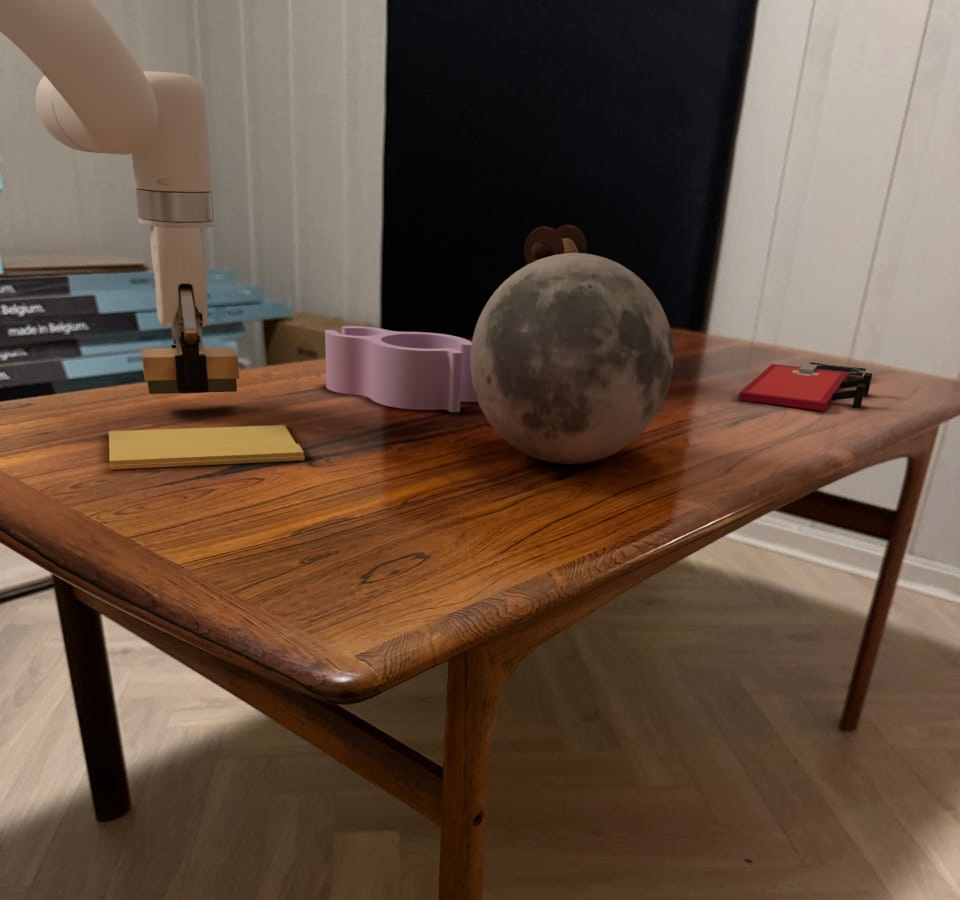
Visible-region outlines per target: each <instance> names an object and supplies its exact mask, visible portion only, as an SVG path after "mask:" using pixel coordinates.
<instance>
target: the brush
mask: <svg viewBox="0 0 960 900" xmlns="http://www.w3.org/2000/svg"><path fill="white" fill-rule="evenodd" d="M203 349H204V355H206V365H207V377H208V392H207V393H233V392H235V393H236V392H238V386H237V380H238V379H240V369H239V367H240V366H239V356H238V354H237V353H236V351H235V349H234V348H233V347H232V346H224V347H223V346H222V347H220V346H219V347H218V346H217V347H215V346H214V347H213V346H211V347H203ZM140 353H141V354H140V355H141V364H142V365H141V366H142V372H143V377H144V378H143V379H144V381H145V382H147V390H148V394H149V395H167V394H181V393H180V392H179V391H178V384H177V374H176V363H175V355H177V348H171V347H156V348H154V347H153V348H152V347H150V348H149V347H148V348H147V347H146V348H140Z"/></svg>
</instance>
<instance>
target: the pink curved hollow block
mask: <svg viewBox="0 0 960 900" xmlns="http://www.w3.org/2000/svg"><path fill="white" fill-rule="evenodd" d="M324 336H325V337H324V338H325V339H324V340H325V341H324V342H325V343H324V344H325V345H324V347H325V348H324V349H325V387H326V389H327V390H329V391H331V392H334V393H339V394H345V395H356V396H361V397H367V398H368V399H371V401H372V402H375V403H377V404H380V405H382V406H387V407H392V408H397V409H404V410H415V411H416V410H417V411H439V410H445V411H448V412H450V413H460V412H461V402H465V403H478V400H477V398H476V395H475V391H474V388H473V384H472V377H471V371H470V354H471V345H472V341H470V340H468V339H466V338H464V337H460V336H455V335H451V334H446V333H439V332H438V333H436V332H425V331H423V332H422V331H396V330H389V329H384V328H381V327H372V326H361V325H359V326H358V325H344V326H341V333H340V332H337V330H336V329H325V330H324Z"/></svg>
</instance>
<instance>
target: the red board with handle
mask: <svg viewBox="0 0 960 900" xmlns="http://www.w3.org/2000/svg"><path fill="white" fill-rule="evenodd" d="M866 371H867V368H865V367H855V366H848V365H847V366H846V365H838V364H829V363H828V364H827V363H819V362H812V361H811V362H810V363H806V362H805V363H803V365H802V366H793V365H784V364H776V363H771V364H770V365H769V366H768V367H767V368H766V369H764V370H763V371H762V372H761V373H760V374H759V375H758V376H756V377H755V378H754V379H753V380H752V381H751V382H749V384H747V385H746V386H745V387H744V388H743V389H742V390H740V391H739V394H738V400H740V401H747V402H753V403H754V402H755V403H762V404H770V405H779V406H784V407H785V406H787V407H795V408H803V409H808V410H818V411H823V412H825V411H826V410H827V408H829V406H830V404H831V403H832V401H833V402H834V401H841V400H847V399H849V400H850V399H853V401H852V407H851V408H853V409H860V408H861V407H862V404H863V400H864V397H868V395H869V391H870V388H871V382H872V377H873V373H871V372H866ZM849 376H855V377H860V378H854V379H848V377H849ZM862 376H863V377H862ZM850 388H855V389H850ZM842 389H848V390H842ZM840 390H841V391H840Z"/></svg>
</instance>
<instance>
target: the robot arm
mask: <svg viewBox="0 0 960 900" xmlns="http://www.w3.org/2000/svg"><path fill="white" fill-rule="evenodd" d="M0 33H1V34H3V35H4V37H6V38H7V39H8V40H9V41H11V43H12V44H14V45H15V46H16V47H17V48H18V49H19V50H20V51H21V52H22V53H23V54H24V55H25V56H26V57H27V58H29V60H30V61H31V62H32V63H33V64H34V65H35V66H36V68H37V69H38V70H39V71H40V72H41V73H42V74H43V77H42V78H41V79H40V80H39V82H38V85H37V87H36V90H35V98H34V99H35V108H36V112H37V116H38V119H39V120H40V122H41V124H42V125H43V127H44V128H45V130H46V131H47V132H48V133H49V134H50V135H51V137H53V138H54V139H55V140H56V141H57V142H59V143H61V144H62V145H64V146H66V147H68V148H70V149H73V150H75V151H79V152H85V153H93V154H109V155H120V156H122V155H131V160H132V169H133V176H134V177H133V179H134V188H135V197H136V206H137V215H138V216H137V217H138V224H139V225H140V226H142V225H143V226H146V227H149V228H150V230H149V231H150V232H149V235H150V236H149V237H150V253H151V265H152V276H153V277H152V278H153V286H154V294H155V306H156V307H155V308H156V316H157V320H158V322H159V325H161V326H162V327H163V328H168V324H171V325H170V326H171V336H172V337H171V339H172V344H171V345H170V346H171V347H170V348H177V355H175V363H176V374H177V384H178V391H179V392H180V393H179V394H205V393H209V392H208V377H207V365H206V355H204V349H203V348H204V340H203V339H204V338H203V331H202V330H203V328H204V327H206V326H207V325H208V323H209V321H208V320H209V319H208V318H209V317H208V311H209V310H208V309H209V308H208V281H207V280H208V279H207V266H206V265H207V264H206V252H205V238H204V237H205V236H204V229H205V228H206V229H207V228H212V227H215V221H214V207H213V205H214V204H213V193H212V181H211V179H212V178H211V166H210V151H209V138H208V137H209V136H208V123H207V110H206V99H205V97H206V96H205V91H204V88H203V86H202V84H201V82H200V81H199V80H198V79H197V78H196V77H195V76H193V75H189V74H185V73H181V72H180V73H179V72H168V71H157V70H156V71H155V70H154V71H153V70H143V69H142V68H141V66H140V64H138V62H137V60H135V58H134V56H133V54H131V53H130V51H129V50H128V48H127V47H126V45H125V44H124V43H123V41H122V40H121V38H120V37H119V35H118V34H117V33H116V32H115V30H114V29H113V27H112V26H111V25H110V23H109V22H108V20H107V19H106V18H105V16H104V15H103V14H102V13H101V12H100V11H99V9H98V8H97V7H96V6H95V5H94V3H93V2H92V1H91V0H0Z"/></svg>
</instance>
